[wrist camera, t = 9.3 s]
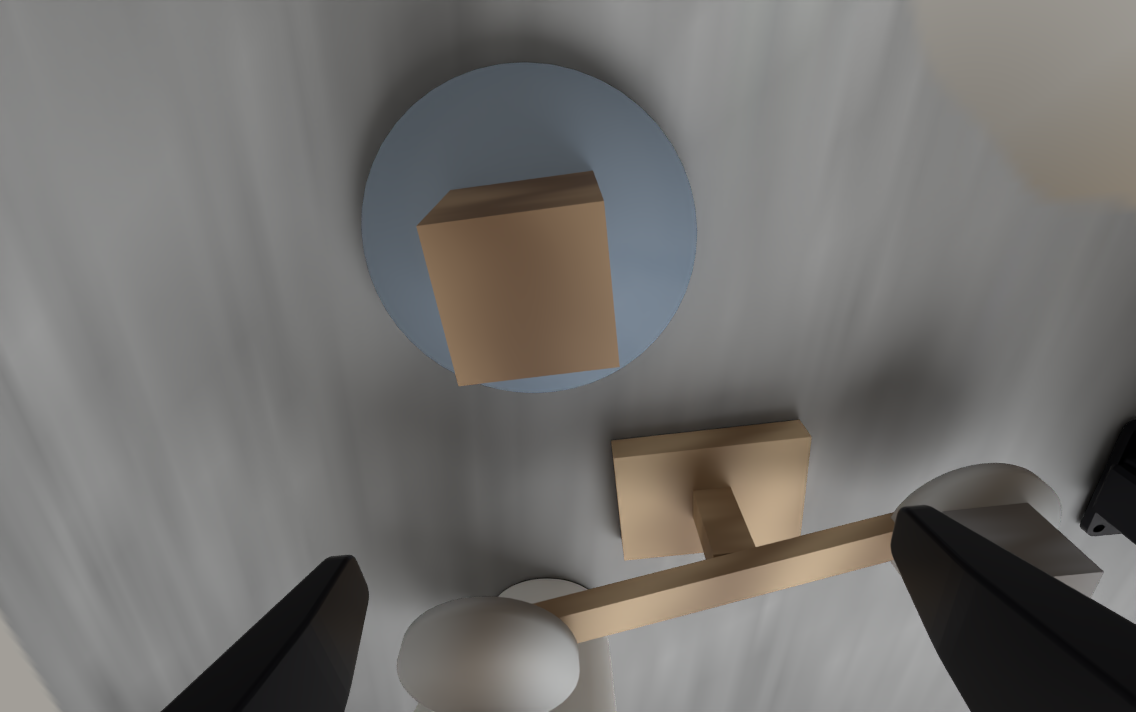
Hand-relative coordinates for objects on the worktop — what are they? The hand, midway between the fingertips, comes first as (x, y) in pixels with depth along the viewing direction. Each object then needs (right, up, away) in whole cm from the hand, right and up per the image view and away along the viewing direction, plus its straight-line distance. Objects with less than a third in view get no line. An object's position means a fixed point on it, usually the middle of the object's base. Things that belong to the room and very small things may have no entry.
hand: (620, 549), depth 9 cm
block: (-2, +7, +9) cm, 11 cm away
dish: (-2, +7, +10) cm, 12 cm away
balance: (+5, -3, +15) cm, 16 cm away
